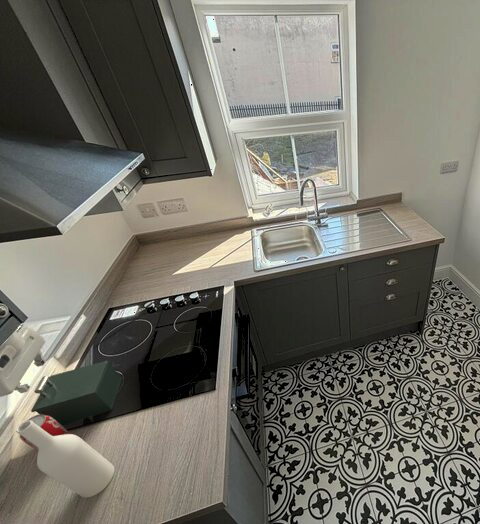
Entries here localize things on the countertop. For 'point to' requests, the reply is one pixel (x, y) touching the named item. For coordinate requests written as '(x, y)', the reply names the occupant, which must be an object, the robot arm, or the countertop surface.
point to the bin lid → (69, 386)
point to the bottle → (69, 460)
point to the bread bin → (88, 401)
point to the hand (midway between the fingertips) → (34, 376)
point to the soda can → (46, 428)
